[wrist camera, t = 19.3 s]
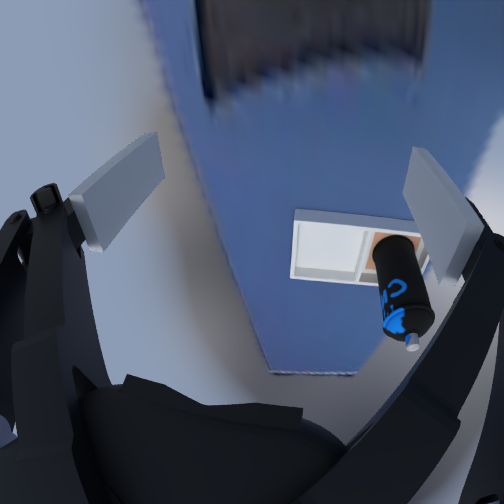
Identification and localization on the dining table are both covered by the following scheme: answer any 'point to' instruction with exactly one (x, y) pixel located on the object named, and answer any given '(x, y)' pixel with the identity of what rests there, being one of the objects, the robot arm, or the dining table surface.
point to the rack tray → (345, 245)
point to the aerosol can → (402, 291)
